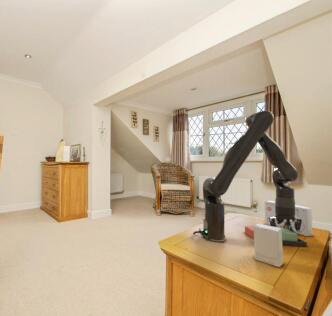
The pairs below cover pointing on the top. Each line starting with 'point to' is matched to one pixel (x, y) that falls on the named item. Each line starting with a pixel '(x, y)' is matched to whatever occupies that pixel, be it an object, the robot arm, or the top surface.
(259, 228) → the cosmetic box
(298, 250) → the top surface
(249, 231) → the terracotta pad
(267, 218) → the skincare box
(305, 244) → the frame
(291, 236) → the sage pad
